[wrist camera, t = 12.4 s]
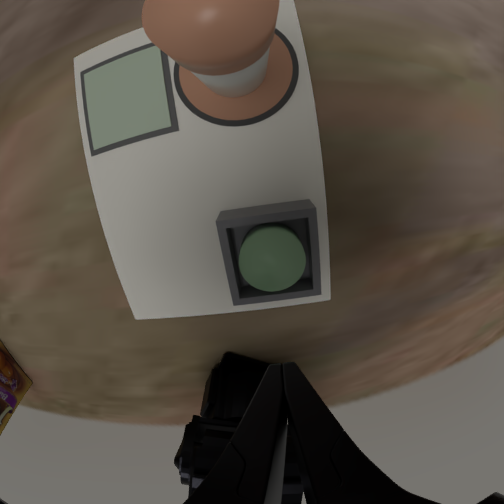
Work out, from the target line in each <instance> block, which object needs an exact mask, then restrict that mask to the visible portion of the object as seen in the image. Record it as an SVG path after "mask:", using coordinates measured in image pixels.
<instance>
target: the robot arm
mask: <svg viewBox="0 0 504 504" xmlns="http://www.w3.org/2000/svg"><path fill="white" fill-rule="evenodd" d="M228 358H230V359H228ZM200 415H201V417H200V416H197V415H193V419H192V422H189V424H187V425H186V427H185V432H184V437H183V440H182V443H181V445H180V447H179V449H178V452H177V454H176V456H175V459H174V464H175V466H176V467H177V468H178V469H179V473H180V475H181V483H182V484H185V485H189V496H188V499H187V500H186V501H185V502H184V503H183V504H301V501H302V495H303V492H304V494H305V498H306V503H307V504H440V503H437V502H434V501H431V500H428V499H426V498H423V497H420V496H417V495H415V494H412V493H410V492H408V491H406V490H404V489H402V488H401V487H400V486H398V485H397V484H396V483H395V482H393V481H392V480H391V479H390V478H389V477H388V476H386V474H384V473H383V472H382V471H381V470H380V469H379V468H378V467H377V466H376V465H375V464H374V463H373V462H372V461H370V460H369V459H368V457H367V456H365V455H364V453H363V452H361V450H360V449H359V448H358V447H357V446H356V444H355V443H354V442H353V441H352V440H351V438H350V437H349V436H348V434H347V433H346V432H345V431H344V429H343V428H342V426H341V425H340V424H339V422H338V421H337V420H336V418H335V417H334V416H333V414H332V413H331V412H330V410H329V409H328V407H327V406H326V405H325V403H324V402H323V401H322V399H321V398H320V396H319V395H318V394H317V392H316V391H315V390H314V388H313V387H312V385H311V384H310V383H309V381H308V380H307V378H306V377H305V376H304V374H303V373H302V371H301V370H300V369H299V367H298V366H297V364H296V363H295V362H286V363H283V364H281V363H277V364H268V363H264V362H260V361H257V360H253V359H250V358H246V357H243V356H239V355H236V354H233V353H225V354H224V355H223V357H222V359H221V362H220V364H219V366H218V368H214V369H212V371H211V374H210V376H209V378H208V380H207V382H206V385H205V391H204V396H203V401H202V407H201V412H200ZM287 418H288V425H287ZM0 504H8V503H6V502H5V501H3V500H2V499H0ZM477 504H504V495H502V494H500V493H497V492H495V493H493V494H491V495H490V496H488V497H487V498H485V499H484V500H482V501H480V502H479V503H477Z"/></svg>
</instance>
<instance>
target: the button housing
mask: <svg viewBox="0 0 504 504" xmlns="http://www.w3.org/2000/svg"><path fill="white" fill-rule="evenodd" d="M264 223H279V224H283V225H285V226H287V227H289V228H290V229H292V230H293V231H294V232H295V233H296V234H297V236H298V237H299V239H300V241H301V244H302V246H303V249H304V252H305V256H306V265H305V269H304V272H303V274H302V275H301V277H300V278H299V280H298V281H297V282H296V283H294V284H293V285H292V286H290V287H288V288H286V289H284V290H280V291H273V292H270V291H263V290H259V289H257V288H255V287H253V286H252V285H250V284H249V283H248V282H247V281H246V280H245V279H244V277H243V276H242V274H241V272H240V268H239V254H240V248H241V244H242V241H243V239H244V237H245V236H246V234H247V233H248V232H249V231H250V230H251V229H253V228H254V227H256V226H258V225H261V224H264ZM216 226H217V231H218V236H219V241H220V246H221V251H222V256H223V260H224V265H225V270H226V274H227V279H228V284H229V288H230V293H231V297H232V302H233V306H237V305H246V304H255V303H263V302H272V301H280V300H287V299H295V298H302V297H309V296H316V295H321V271H320V252H319V236H318V223H317V211H316V207H315V206H314V204H313V203H312V202H311V201H310V199H306V200H297V201H289V202H282V203H274V204H266V205H259V206H252V207H245V208H238V209H231V210H225V211H220V213H219V215H218V217H217V219H216Z"/></svg>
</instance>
